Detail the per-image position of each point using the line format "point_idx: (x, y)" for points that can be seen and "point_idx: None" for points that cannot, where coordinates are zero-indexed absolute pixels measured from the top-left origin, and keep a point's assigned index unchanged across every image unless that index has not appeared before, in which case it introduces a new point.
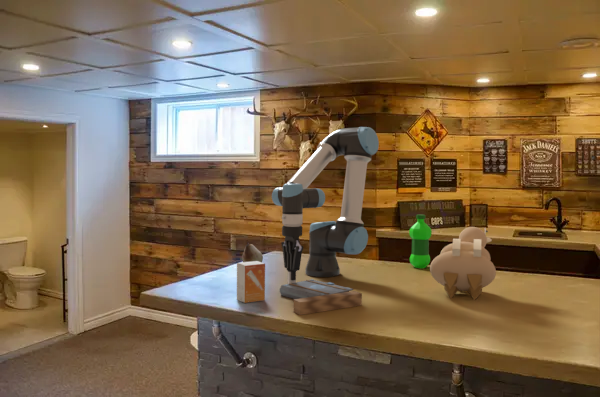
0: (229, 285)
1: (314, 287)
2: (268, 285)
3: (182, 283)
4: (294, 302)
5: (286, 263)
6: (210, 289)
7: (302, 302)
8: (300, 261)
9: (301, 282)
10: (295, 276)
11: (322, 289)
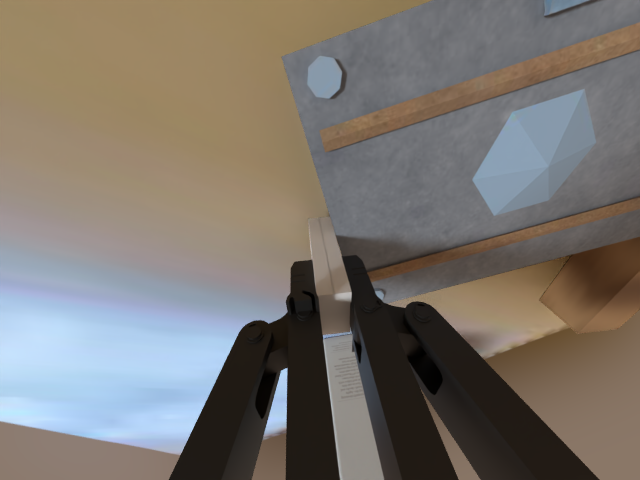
0: (133, 371)
1: (537, 195)
2: (139, 272)
3: (101, 434)
4: (573, 325)
5: (272, 393)
6: (190, 402)
7: (622, 320)
8: (520, 398)
9: (354, 203)
10: (367, 274)
11: (603, 164)
